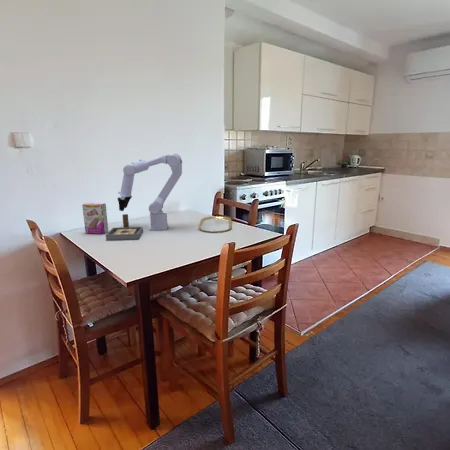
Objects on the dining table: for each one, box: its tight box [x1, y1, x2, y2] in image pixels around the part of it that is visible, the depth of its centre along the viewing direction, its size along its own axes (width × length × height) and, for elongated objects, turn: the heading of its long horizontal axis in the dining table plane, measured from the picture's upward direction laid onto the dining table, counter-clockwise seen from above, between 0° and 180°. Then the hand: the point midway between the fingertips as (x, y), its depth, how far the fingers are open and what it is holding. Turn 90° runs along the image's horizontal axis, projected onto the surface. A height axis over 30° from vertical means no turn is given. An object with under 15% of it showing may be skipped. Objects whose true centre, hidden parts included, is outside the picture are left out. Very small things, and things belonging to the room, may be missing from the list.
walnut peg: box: [121, 213, 130, 227], centre depth 187 cm, size 3×3×8 cm
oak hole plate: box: [114, 229, 137, 234], centre depth 172 cm, size 10×10×2 cm
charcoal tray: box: [105, 226, 144, 242], centre depth 172 cm, size 16×14×3 cm
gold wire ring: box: [197, 215, 232, 234], centre depth 194 cm, size 19×35×2 cm, turn 179°
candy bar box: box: [81, 202, 109, 235], centre depth 177 cm, size 11×5×16 cm, turn 84°
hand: (122, 209), depth 185 cm, fingers open, 7 cm apart
